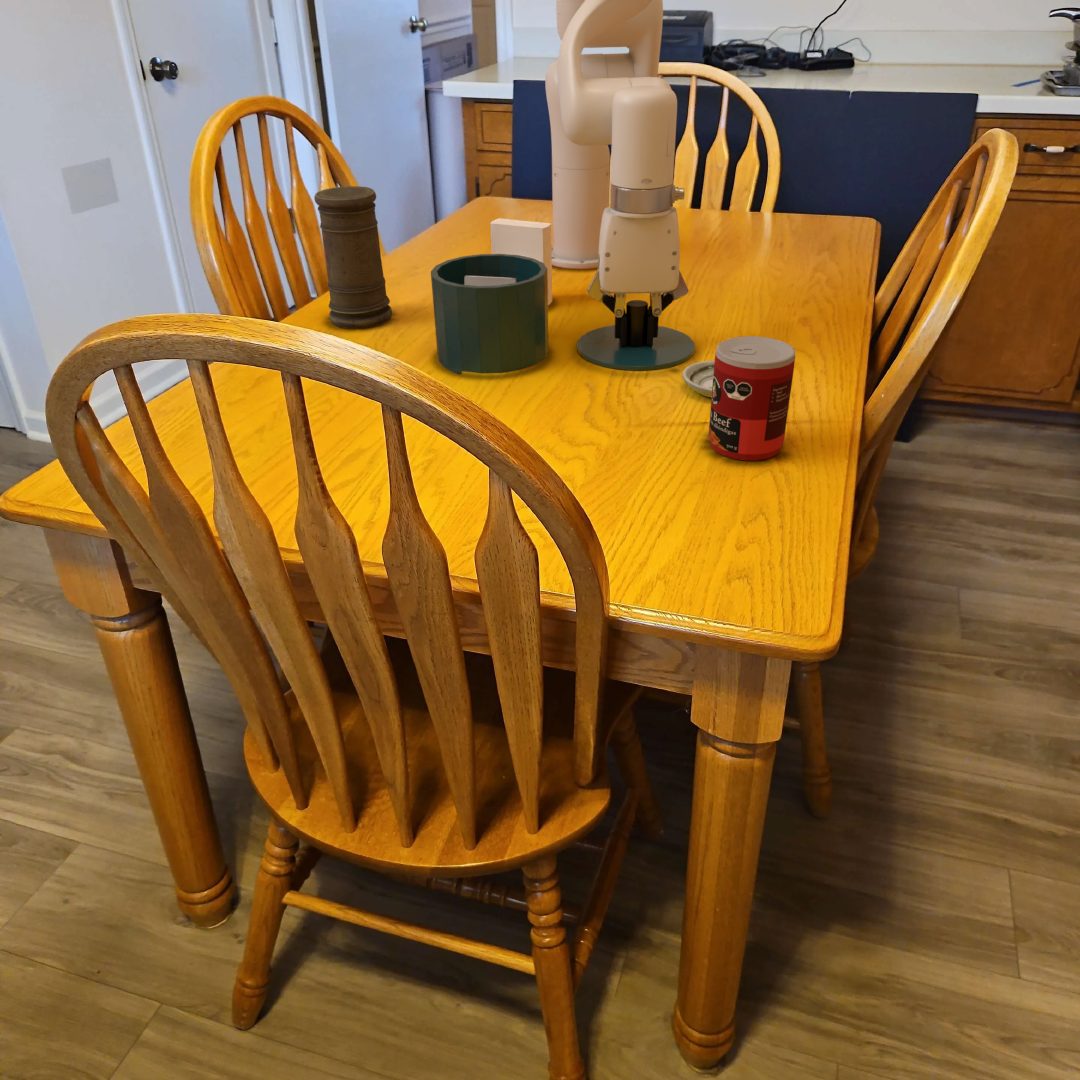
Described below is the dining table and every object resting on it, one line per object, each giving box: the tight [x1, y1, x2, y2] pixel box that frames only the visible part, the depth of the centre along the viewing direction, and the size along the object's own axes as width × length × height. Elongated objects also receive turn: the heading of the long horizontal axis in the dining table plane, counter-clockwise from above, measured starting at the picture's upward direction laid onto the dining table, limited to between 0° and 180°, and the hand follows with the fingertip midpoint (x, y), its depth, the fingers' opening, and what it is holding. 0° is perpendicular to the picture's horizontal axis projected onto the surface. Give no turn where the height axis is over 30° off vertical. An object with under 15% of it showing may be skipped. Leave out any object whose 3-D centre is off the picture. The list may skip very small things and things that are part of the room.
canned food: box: [708, 335, 796, 462], centre depth 97 cm, size 8×8×11 cm
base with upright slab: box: [489, 217, 553, 306], centre depth 138 cm, size 9×9×12 cm
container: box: [313, 185, 393, 329], centre depth 132 cm, size 9×9×18 cm
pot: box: [430, 253, 550, 375], centre depth 121 cm, size 15×15×12 cm
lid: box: [576, 299, 696, 371], centre depth 122 cm, size 16×16×7 cm
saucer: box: [682, 359, 715, 399], centre depth 111 cm, size 10×10×2 cm
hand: (635, 341), depth 123 cm, fingers closed on lid, 2 cm apart
